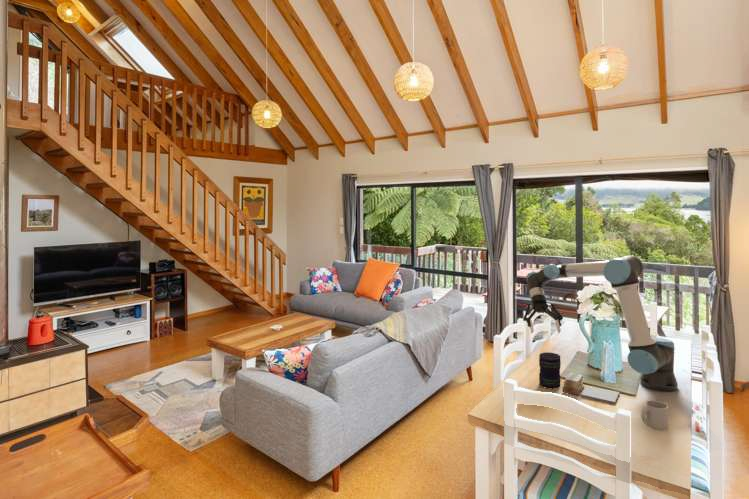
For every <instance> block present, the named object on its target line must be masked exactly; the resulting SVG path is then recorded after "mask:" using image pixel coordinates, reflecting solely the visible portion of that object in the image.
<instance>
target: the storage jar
mask: <svg viewBox="0 0 749 499" xmlns="http://www.w3.org/2000/svg"><path fill="white" fill-rule="evenodd" d="M538 357H539V358H538V359H539V360H538V363H539V364H538V365H539V373H538V374H539V375H538V376H539V377H538V380H539V386H540V385H541V386H540V387H541V388H544V387H546V388H545V389H548V388H552V389H551V390H554V389H553V388H557V389H560V388H561V372H560V371H561V363H562V362H561V355H560V354H558V353H554V352H540V353H539V356H538ZM559 387H560V388H559Z"/></svg>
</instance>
